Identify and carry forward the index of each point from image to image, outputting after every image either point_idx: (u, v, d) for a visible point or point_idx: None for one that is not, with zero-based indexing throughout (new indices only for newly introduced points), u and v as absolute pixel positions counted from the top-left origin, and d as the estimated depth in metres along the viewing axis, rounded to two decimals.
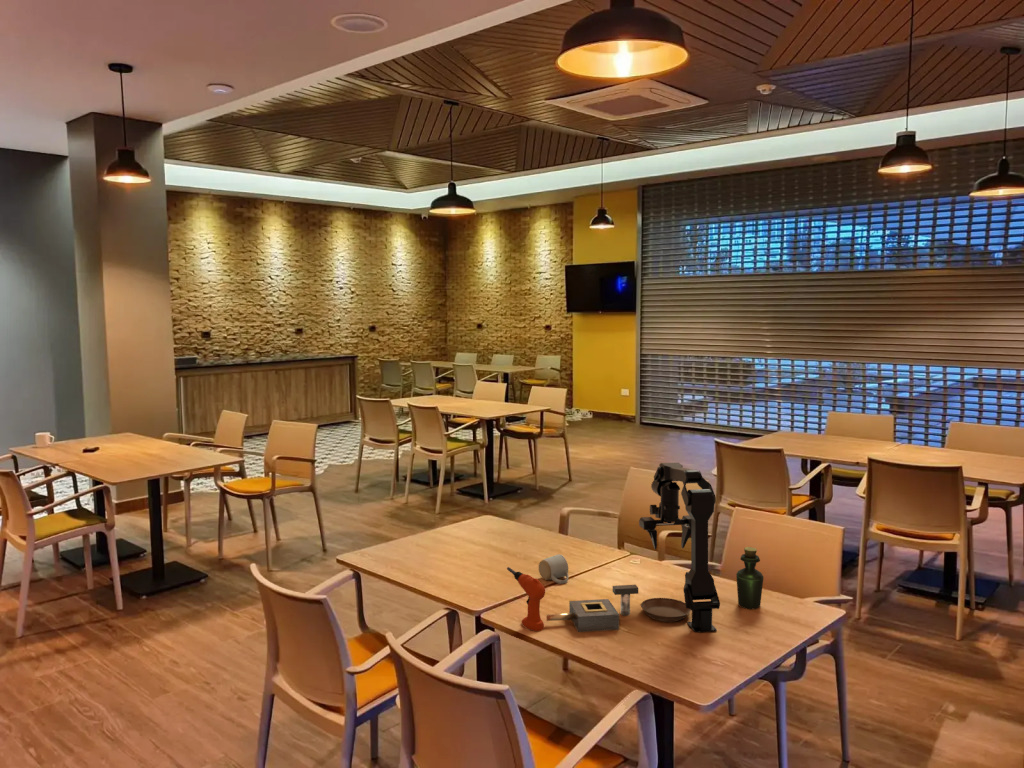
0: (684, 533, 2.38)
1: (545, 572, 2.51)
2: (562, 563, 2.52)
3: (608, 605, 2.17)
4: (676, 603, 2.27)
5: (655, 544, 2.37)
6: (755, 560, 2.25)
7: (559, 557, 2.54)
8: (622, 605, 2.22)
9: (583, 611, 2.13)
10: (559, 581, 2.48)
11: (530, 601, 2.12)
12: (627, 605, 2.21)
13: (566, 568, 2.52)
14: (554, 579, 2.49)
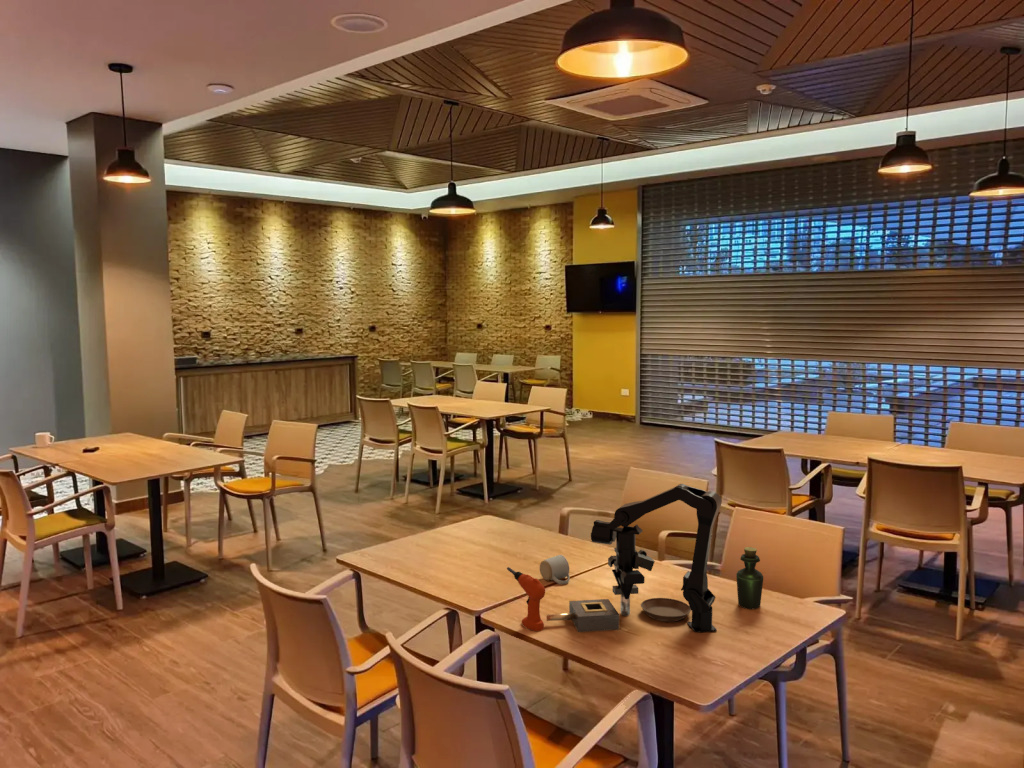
0: None
1: (546, 573, 2.51)
2: (564, 564, 2.52)
3: (608, 605, 2.17)
4: (675, 603, 2.27)
5: None
6: (755, 560, 2.25)
7: (560, 558, 2.53)
8: (622, 605, 2.22)
9: (583, 611, 2.13)
10: (560, 582, 2.48)
11: (530, 601, 2.12)
12: (627, 605, 2.21)
13: (567, 569, 2.52)
14: (555, 580, 2.48)
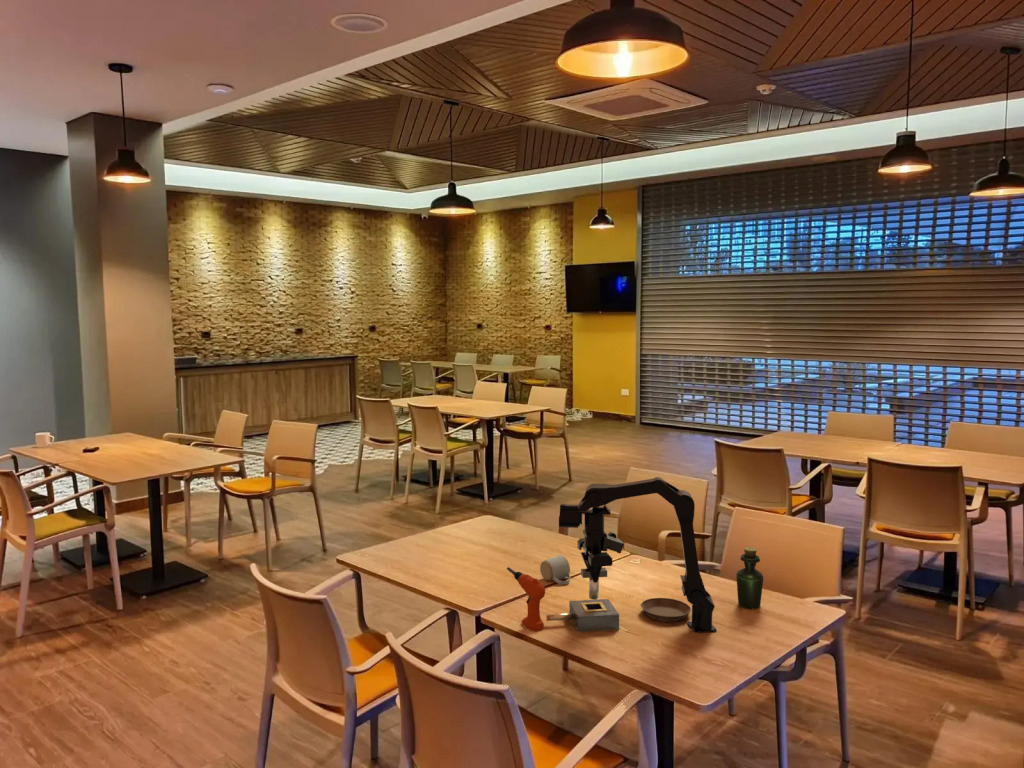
0: None
1: (547, 573, 2.50)
2: (564, 564, 2.51)
3: (608, 605, 2.17)
4: (675, 603, 2.27)
5: None
6: (755, 560, 2.25)
7: (561, 558, 2.53)
8: (590, 589, 2.15)
9: (583, 611, 2.13)
10: (561, 582, 2.47)
11: (530, 601, 2.12)
12: (596, 589, 2.14)
13: (568, 569, 2.52)
14: (556, 580, 2.48)
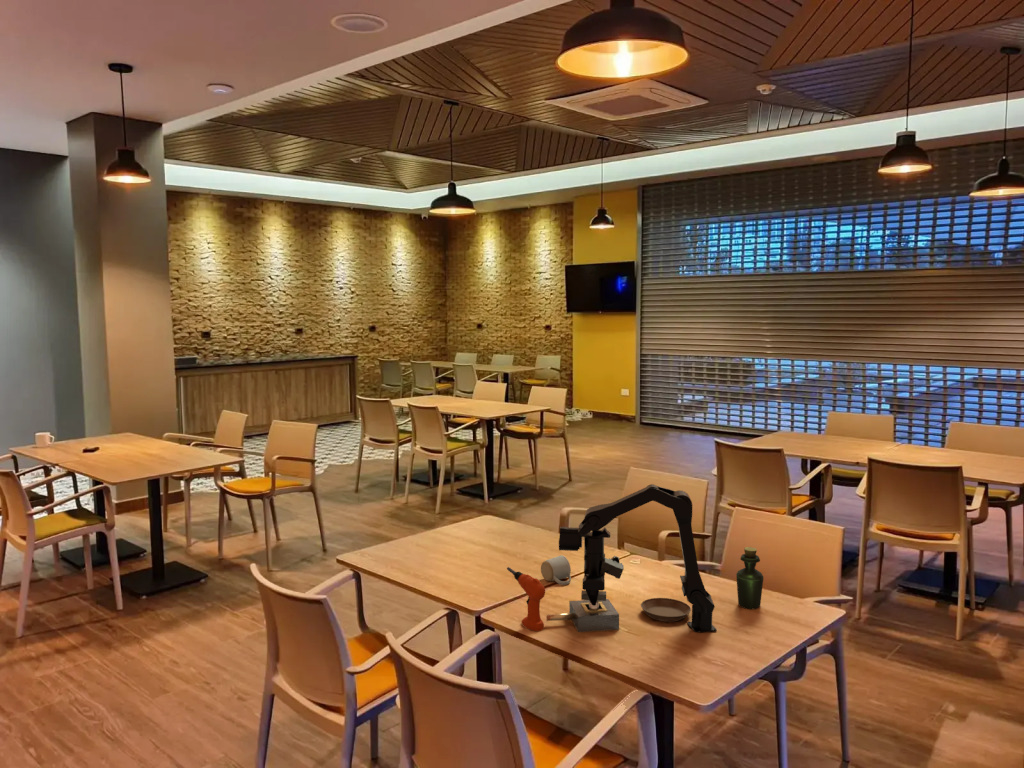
0: None
1: (547, 574, 2.50)
2: (565, 564, 2.51)
3: (608, 605, 2.17)
4: (675, 603, 2.27)
5: None
6: (755, 560, 2.25)
7: (561, 558, 2.53)
8: None
9: (583, 611, 2.13)
10: (561, 582, 2.47)
11: (530, 601, 2.12)
12: None
13: (568, 569, 2.51)
14: (556, 580, 2.48)
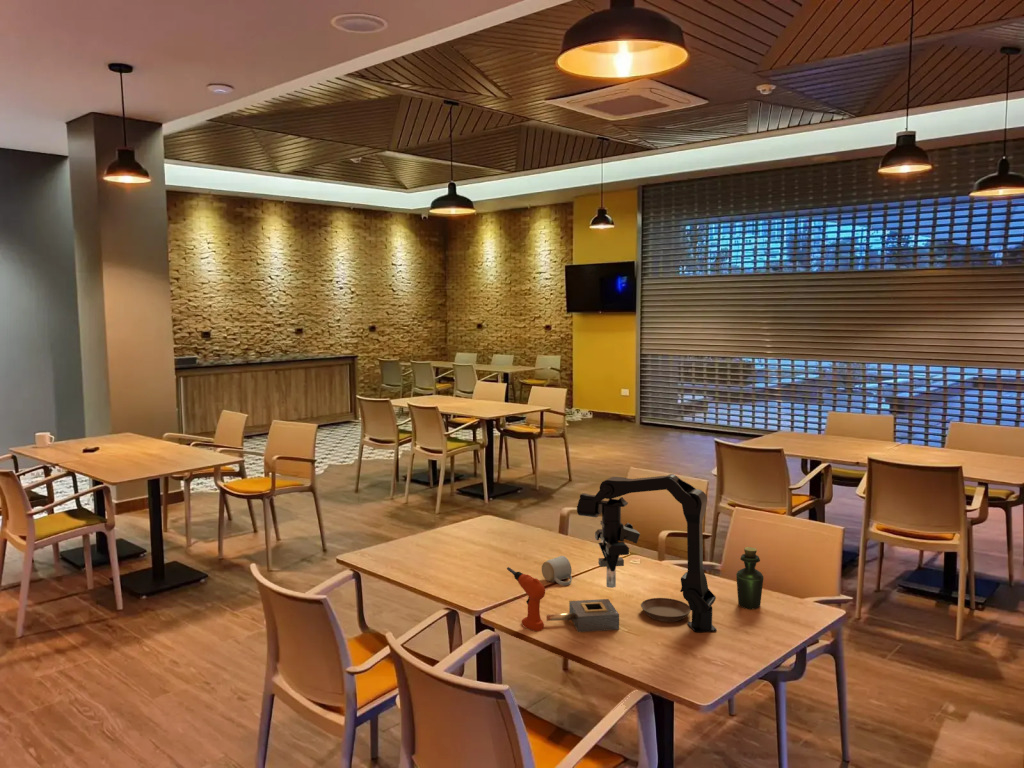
0: None
1: (548, 574, 2.50)
2: (566, 565, 2.51)
3: (608, 605, 2.17)
4: (675, 603, 2.27)
5: None
6: (755, 560, 2.25)
7: (562, 558, 2.52)
8: (608, 577, 2.24)
9: (583, 611, 2.13)
10: (562, 583, 2.46)
11: (530, 601, 2.12)
12: (613, 578, 2.23)
13: (569, 570, 2.51)
14: (557, 581, 2.47)
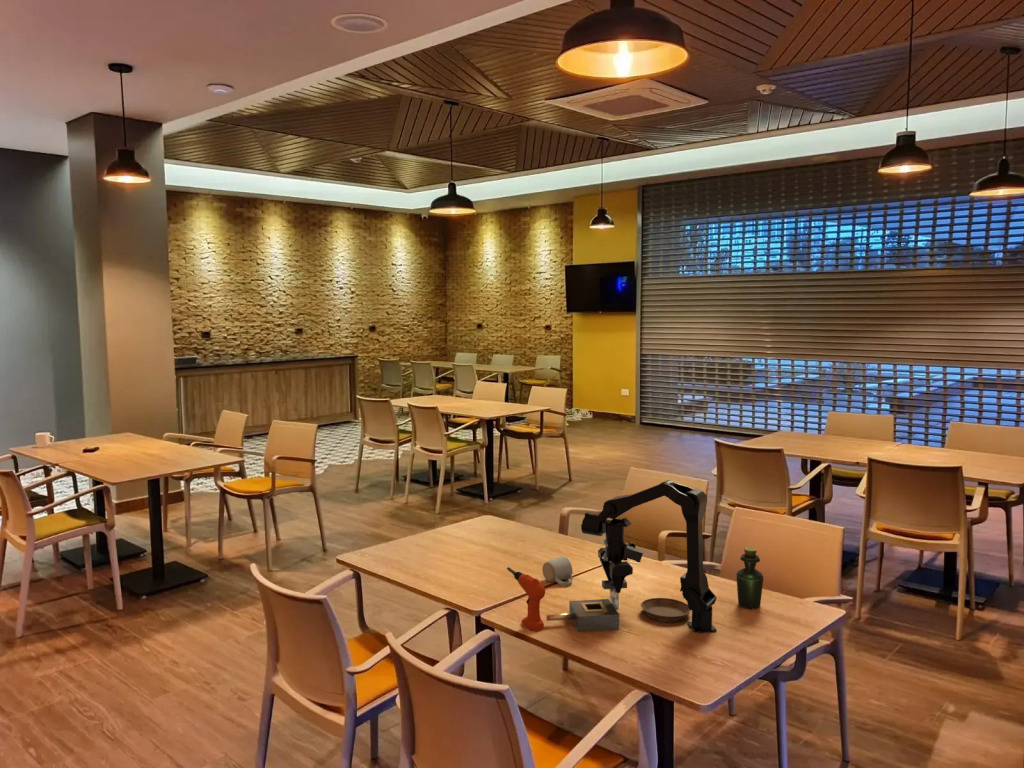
0: None
1: (549, 574, 2.49)
2: (567, 565, 2.50)
3: (608, 605, 2.17)
4: (675, 603, 2.27)
5: (607, 577, 2.31)
6: (755, 560, 2.25)
7: (563, 559, 2.52)
8: (611, 599, 2.26)
9: (583, 611, 2.13)
10: (563, 583, 2.46)
11: (530, 601, 2.12)
12: (616, 600, 2.26)
13: (570, 570, 2.50)
14: (558, 581, 2.47)
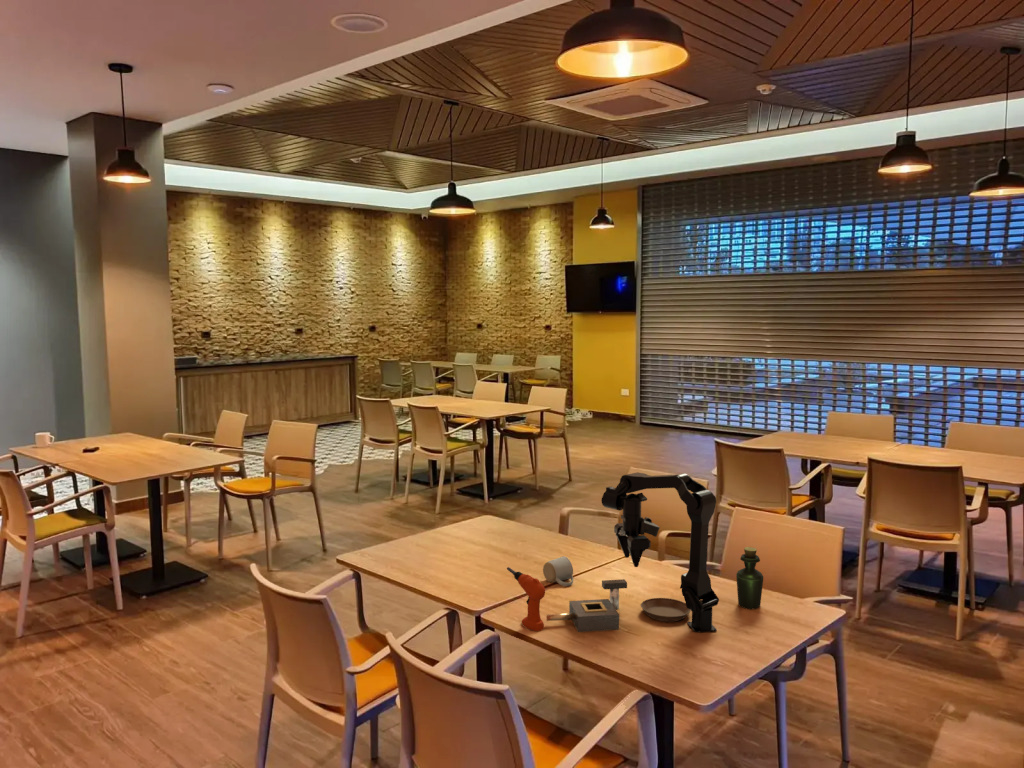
0: None
1: (549, 575, 2.49)
2: (567, 565, 2.50)
3: (608, 605, 2.17)
4: (675, 603, 2.27)
5: (623, 551, 2.35)
6: (755, 560, 2.25)
7: (564, 559, 2.51)
8: (611, 599, 2.26)
9: (583, 611, 2.13)
10: (564, 583, 2.46)
11: (530, 601, 2.12)
12: (616, 600, 2.26)
13: (571, 570, 2.50)
14: (559, 581, 2.46)
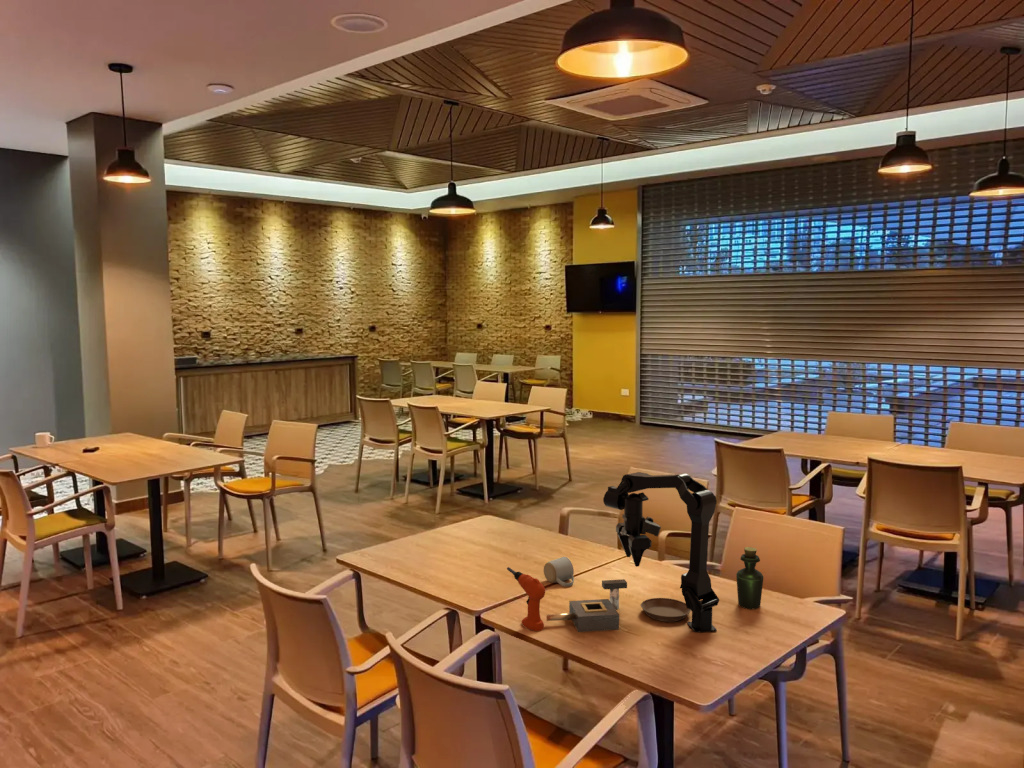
0: None
1: (550, 575, 2.49)
2: (568, 566, 2.50)
3: (608, 605, 2.17)
4: (675, 603, 2.27)
5: None
6: (755, 560, 2.25)
7: (564, 559, 2.51)
8: (611, 599, 2.26)
9: (583, 611, 2.13)
10: (564, 584, 2.45)
11: (530, 601, 2.12)
12: (616, 600, 2.26)
13: (571, 571, 2.50)
14: (559, 582, 2.46)
